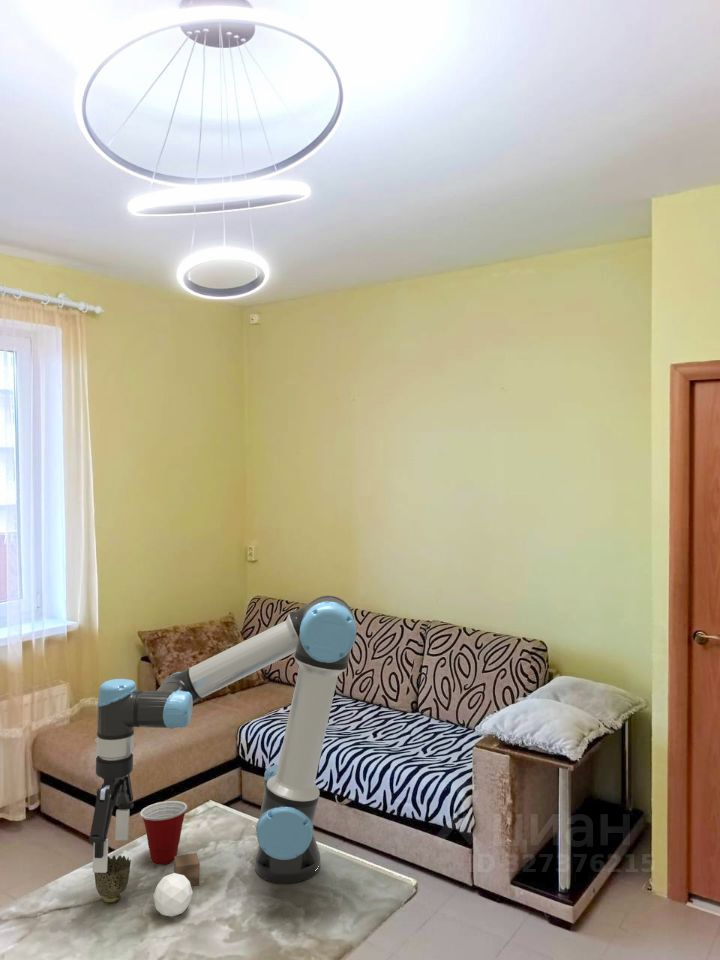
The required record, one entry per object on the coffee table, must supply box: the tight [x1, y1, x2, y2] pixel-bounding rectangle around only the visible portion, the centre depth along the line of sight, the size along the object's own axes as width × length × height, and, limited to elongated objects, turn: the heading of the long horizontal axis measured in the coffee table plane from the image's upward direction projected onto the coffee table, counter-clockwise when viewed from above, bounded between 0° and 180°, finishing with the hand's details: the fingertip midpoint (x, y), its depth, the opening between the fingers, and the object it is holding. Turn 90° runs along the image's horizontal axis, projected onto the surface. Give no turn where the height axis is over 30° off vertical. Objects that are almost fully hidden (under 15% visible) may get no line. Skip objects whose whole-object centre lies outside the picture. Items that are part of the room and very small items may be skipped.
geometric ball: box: [152, 872, 194, 918], centre depth 148 cm, size 8×8×8 cm
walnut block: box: [173, 852, 201, 888], centre depth 160 cm, size 5×5×5 cm
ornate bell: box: [93, 854, 132, 906], centre depth 152 cm, size 8×7×8 cm
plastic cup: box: [140, 800, 188, 866], centre depth 170 cm, size 11×11×12 cm
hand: (111, 855), depth 152 cm, fingers open, 13 cm apart
